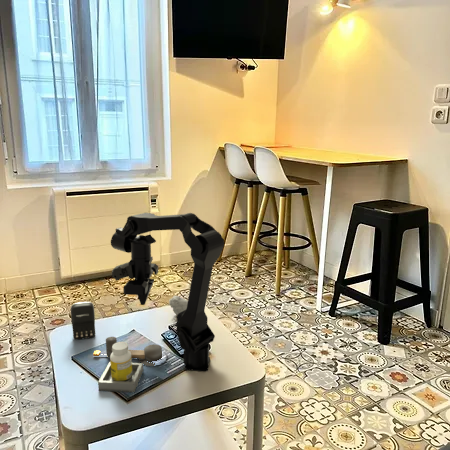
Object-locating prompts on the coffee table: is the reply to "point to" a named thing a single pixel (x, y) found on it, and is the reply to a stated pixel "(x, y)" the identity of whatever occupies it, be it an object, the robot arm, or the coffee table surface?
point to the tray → (115, 386)
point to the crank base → (137, 358)
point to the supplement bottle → (121, 362)
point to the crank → (148, 353)
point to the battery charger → (83, 320)
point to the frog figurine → (178, 304)
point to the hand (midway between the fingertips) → (143, 304)
